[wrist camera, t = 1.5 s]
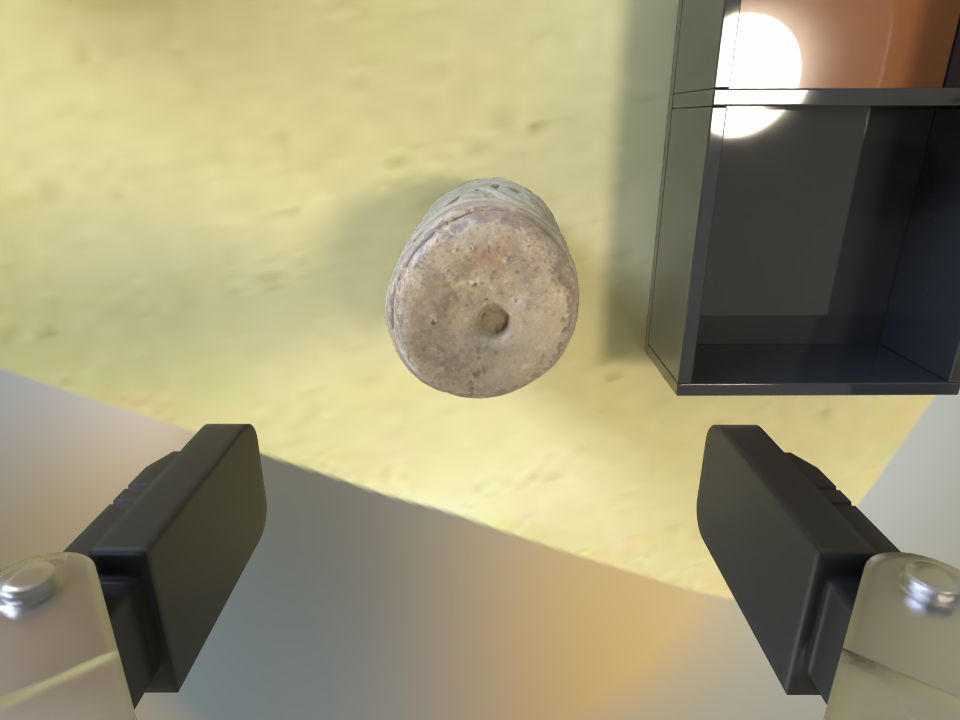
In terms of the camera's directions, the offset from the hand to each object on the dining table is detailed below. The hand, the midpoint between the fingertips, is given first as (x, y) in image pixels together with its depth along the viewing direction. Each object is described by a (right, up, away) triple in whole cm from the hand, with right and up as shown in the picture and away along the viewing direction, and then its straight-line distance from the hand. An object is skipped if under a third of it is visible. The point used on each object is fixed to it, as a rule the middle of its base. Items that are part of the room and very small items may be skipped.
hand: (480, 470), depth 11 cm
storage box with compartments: (+14, +14, +17) cm, 26 cm away
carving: (0, +8, +19) cm, 21 cm away
